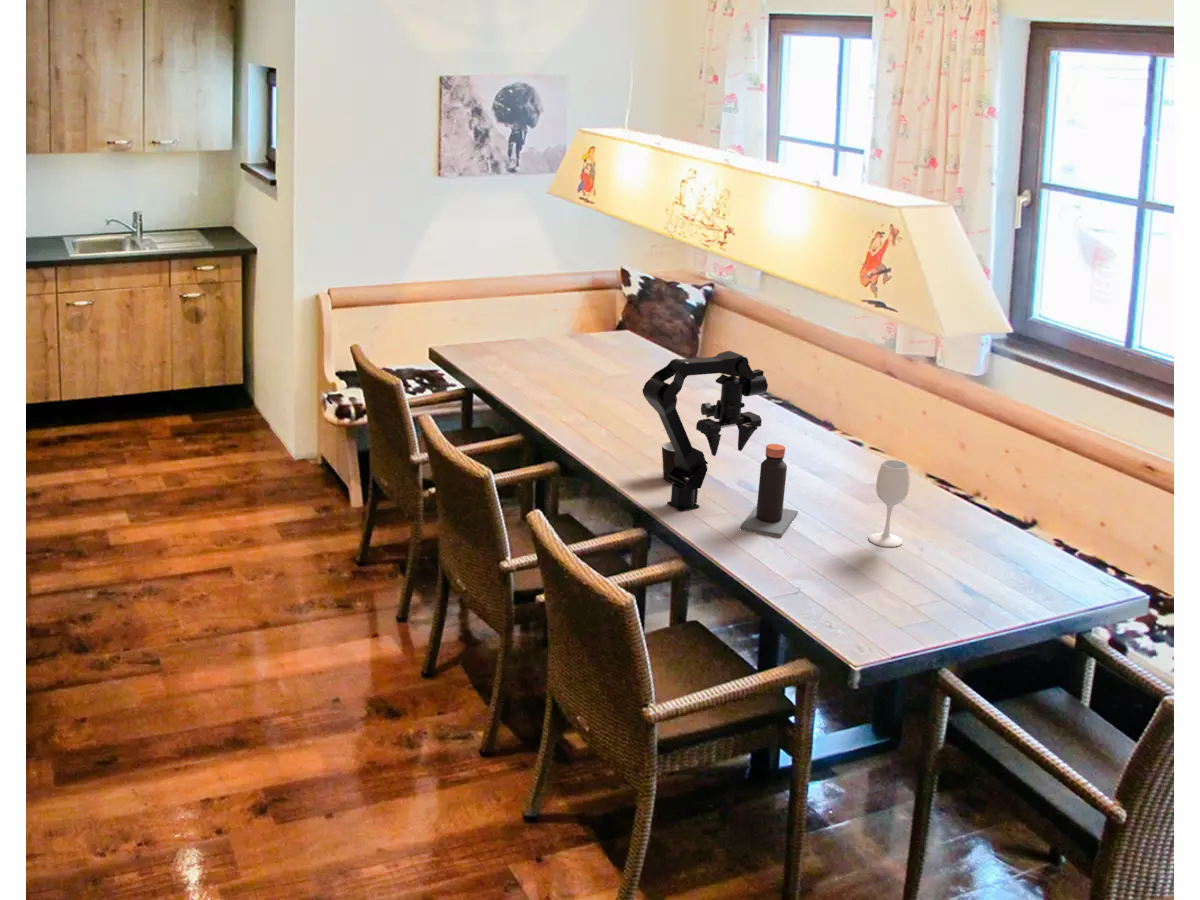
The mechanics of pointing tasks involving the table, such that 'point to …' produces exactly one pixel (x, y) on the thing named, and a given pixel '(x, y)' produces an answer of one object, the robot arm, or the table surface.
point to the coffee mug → (668, 459)
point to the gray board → (769, 528)
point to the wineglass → (891, 496)
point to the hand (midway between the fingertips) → (726, 453)
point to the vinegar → (772, 485)
